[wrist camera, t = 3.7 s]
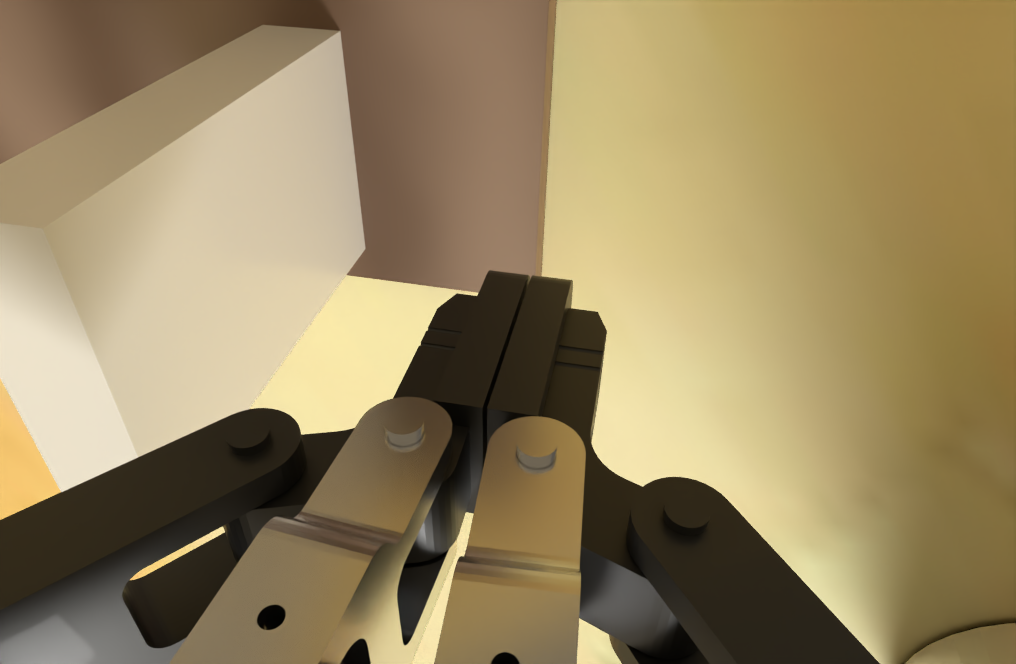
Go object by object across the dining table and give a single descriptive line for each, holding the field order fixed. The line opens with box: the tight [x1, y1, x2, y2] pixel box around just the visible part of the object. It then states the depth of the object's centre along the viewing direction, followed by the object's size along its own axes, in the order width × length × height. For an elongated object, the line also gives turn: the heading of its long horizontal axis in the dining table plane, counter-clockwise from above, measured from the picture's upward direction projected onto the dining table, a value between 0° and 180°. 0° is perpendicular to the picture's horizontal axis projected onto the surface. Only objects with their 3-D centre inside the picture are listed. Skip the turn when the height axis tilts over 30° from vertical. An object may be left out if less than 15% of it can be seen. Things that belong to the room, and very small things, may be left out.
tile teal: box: [0, 25, 365, 492], centre depth 15 cm, size 2×6×10 cm, turn 179°
